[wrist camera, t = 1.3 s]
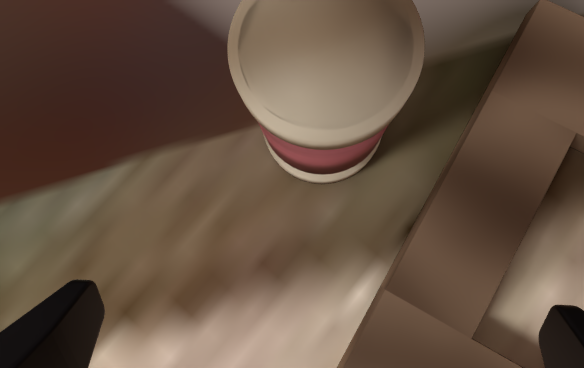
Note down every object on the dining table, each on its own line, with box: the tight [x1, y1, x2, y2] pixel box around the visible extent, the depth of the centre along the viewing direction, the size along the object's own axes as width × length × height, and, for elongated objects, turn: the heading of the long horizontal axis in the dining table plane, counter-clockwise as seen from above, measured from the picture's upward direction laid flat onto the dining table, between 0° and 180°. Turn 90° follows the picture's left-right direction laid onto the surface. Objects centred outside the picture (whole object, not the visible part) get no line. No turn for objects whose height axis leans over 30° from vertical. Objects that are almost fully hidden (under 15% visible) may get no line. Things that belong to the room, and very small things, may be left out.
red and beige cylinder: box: [228, 0, 425, 184], centre depth 17 cm, size 6×6×9 cm
